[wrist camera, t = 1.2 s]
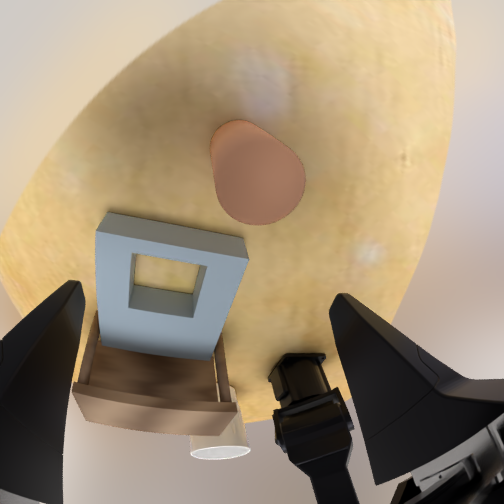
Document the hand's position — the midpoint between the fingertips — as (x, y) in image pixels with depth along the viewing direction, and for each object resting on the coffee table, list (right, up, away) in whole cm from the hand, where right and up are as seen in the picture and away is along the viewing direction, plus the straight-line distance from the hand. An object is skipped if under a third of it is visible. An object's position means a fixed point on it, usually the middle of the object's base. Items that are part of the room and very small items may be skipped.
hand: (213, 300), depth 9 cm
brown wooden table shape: (-9, -8, +19) cm, 23 cm away
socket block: (-7, -2, +15) cm, 17 cm away
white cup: (-5, -19, +27) cm, 34 cm away
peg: (0, +9, +9) cm, 13 cm away
